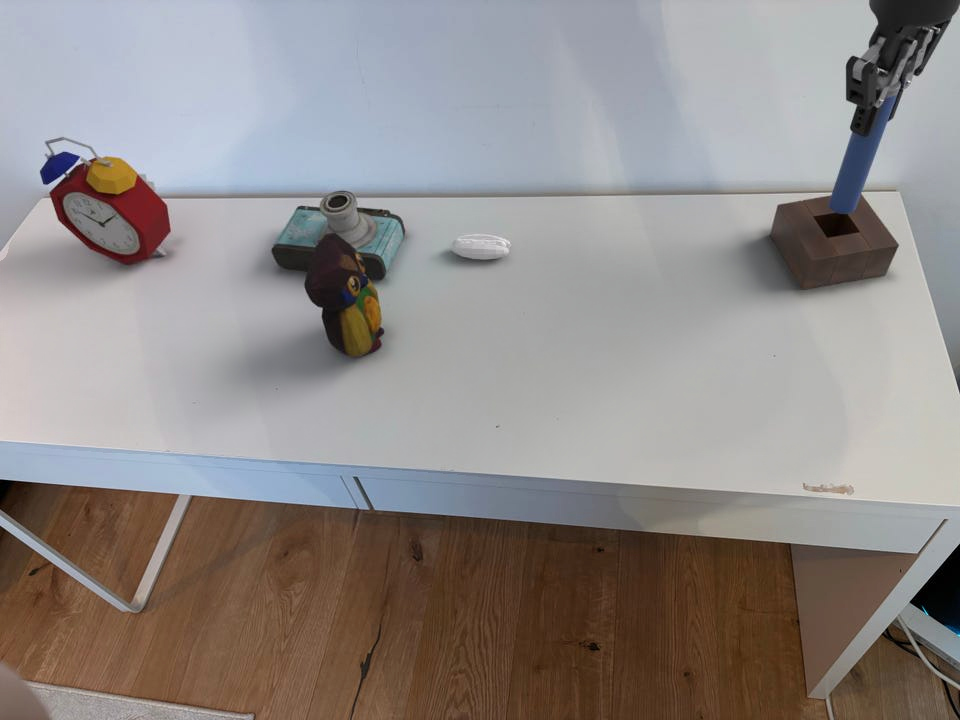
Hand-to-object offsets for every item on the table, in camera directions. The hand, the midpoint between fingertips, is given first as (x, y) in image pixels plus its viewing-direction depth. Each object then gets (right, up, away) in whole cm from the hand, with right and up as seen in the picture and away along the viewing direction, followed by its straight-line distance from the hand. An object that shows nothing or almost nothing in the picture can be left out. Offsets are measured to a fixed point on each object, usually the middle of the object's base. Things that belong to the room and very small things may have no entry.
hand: (870, 124), depth 78 cm
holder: (+2, -12, +15) cm, 19 cm away
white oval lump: (-42, -11, +22) cm, 48 cm away
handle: (+1, -7, +9) cm, 11 cm away
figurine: (-57, -23, +15) cm, 63 cm away
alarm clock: (-93, -8, +32) cm, 98 cm away
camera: (-61, -10, +26) cm, 67 cm away
